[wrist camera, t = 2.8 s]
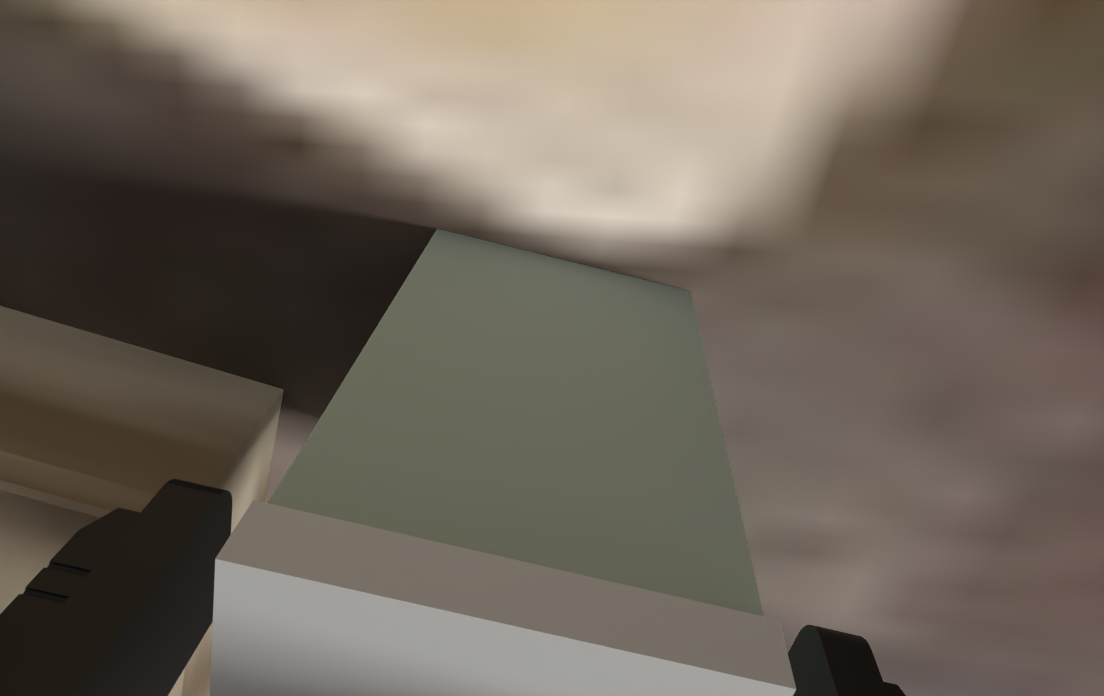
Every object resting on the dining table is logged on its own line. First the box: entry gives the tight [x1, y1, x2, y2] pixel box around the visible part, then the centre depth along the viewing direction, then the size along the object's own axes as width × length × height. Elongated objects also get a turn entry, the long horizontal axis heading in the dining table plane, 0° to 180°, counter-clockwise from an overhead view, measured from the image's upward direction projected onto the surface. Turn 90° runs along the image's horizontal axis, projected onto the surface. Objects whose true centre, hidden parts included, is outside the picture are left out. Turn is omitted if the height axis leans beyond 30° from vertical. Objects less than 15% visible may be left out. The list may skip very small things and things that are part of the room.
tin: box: [210, 229, 796, 696], centre depth 12 cm, size 5×5×9 cm
